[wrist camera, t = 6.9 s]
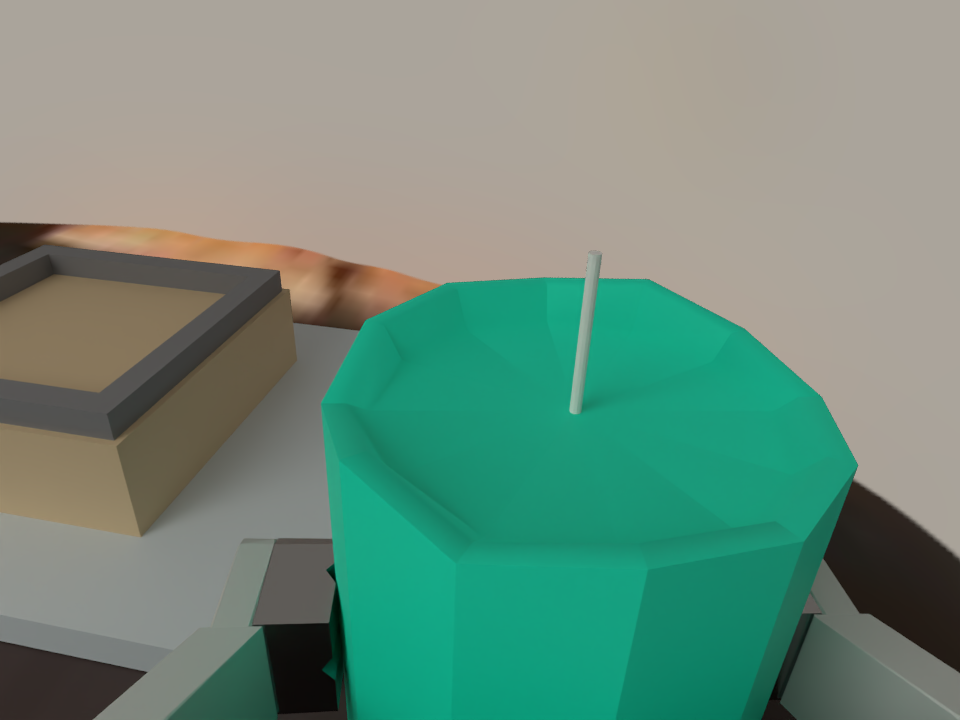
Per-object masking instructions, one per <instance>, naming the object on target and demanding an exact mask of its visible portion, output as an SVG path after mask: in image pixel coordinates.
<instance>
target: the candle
mask: <svg viewBox="0 0 960 720" xmlns="http://www.w3.org/2000/svg"><path fill="white" fill-rule="evenodd" d="M601 257H602V253H601V252H600V251H589V253H588V262H587V270H586V278H527V279H509V280H491V281H474V282H455V283H446V284H444V285H442V286H439V287H437V288H435V289H433V290H431V291H428V292H426V293H424V294H422V295H420V296H417V297H415V298H413V299H411V300H409V301H407V302H404V303H402V304H400V305H398V306H396V307H393V308H391V309H389V310H387V311H385V312H382V313H380V314H378V315H376V316H374V317H372V318H369V319H367V320H365V322H364V324H363V326H362V328H361V330H360V331H359V333H358V335H357V337H356V339H355V341H354V343H353V344H352V346H351V348H350V350H349V352H348V354H347V356H346V357H345V359H344V361H343V363H342V365H341V367H340V369H339V370H338V372H337V374H336V376H335V378H334V380H333V382H332V383H331V385H330V387H329V389H328V391H327V393H326V395H325V397H324V398H323V400H322V402H321V412H322V424H323V435H324V447H325V459H326V471H327V482H328V494H329V506H330V518H331V529H332V541H333V553H334V564H335V576H336V588H337V600H338V609H339V623H340V635H341V641H342V654H343V666H344V682H345V693H346V705H347V717H348V720H761V719H762V716H763V714H764V711H765V709H766V706H767V703H768V701H769V698H770V695H771V693H772V690H773V688H774V685H775V682H776V680H777V677H778V675H779V672H780V669H781V667H782V664H783V661H784V659H785V656H786V654H787V651H788V648H789V646H790V643H791V640H792V638H793V635H794V633H795V630H796V627H797V625H798V622H799V619H800V617H801V614H802V612H803V609H804V606H805V604H806V601H807V598H808V596H809V593H810V591H811V588H812V585H813V583H814V580H815V577H816V575H817V572H818V570H819V567H820V564H821V562H822V559H823V556H824V554H825V551H826V549H827V546H828V543H829V541H830V538H831V536H832V533H833V530H834V528H835V525H836V522H837V520H838V517H839V515H840V512H841V509H842V507H843V504H844V501H845V499H846V496H847V494H848V491H849V488H850V486H851V483H852V480H853V478H854V475H855V472H856V470H857V467H858V464H857V462H856V460H855V458H854V456H853V455H852V453H851V451H850V449H849V447H848V445H847V443H846V442H845V440H844V438H843V436H842V434H841V432H840V430H839V428H838V427H837V425H836V423H835V421H834V419H833V417H832V415H831V413H830V412H829V410H828V408H827V406H826V404H825V402H824V400H823V398H822V397H821V396H820V395H819V394H818V393H817V392H815V391H814V390H813V389H812V388H811V387H810V386H809V385H807V384H806V383H805V382H804V381H803V380H802V379H801V378H799V377H798V376H797V375H796V374H795V373H794V372H793V371H792V370H790V369H789V368H788V367H787V366H786V365H785V364H784V363H783V362H781V361H780V360H779V359H778V358H777V357H776V356H775V355H774V354H772V353H771V352H770V351H769V350H768V349H767V348H766V347H765V346H763V345H762V344H761V343H760V342H759V341H758V340H757V339H755V338H754V337H753V336H752V335H751V334H750V333H749V332H748V331H746V330H745V329H744V328H742V327H740V326H738V325H736V324H734V323H732V322H730V321H728V320H726V319H724V318H722V317H721V316H719V315H717V314H715V313H713V312H711V311H709V310H707V309H705V308H703V307H701V306H699V305H697V304H695V303H693V302H692V301H690V300H688V299H686V298H684V297H682V296H680V295H678V294H676V293H674V292H672V291H670V290H668V289H666V288H665V287H662V286H661V285H659V284H657V283H655V282H653V281H651V280H649V279H601V278H599V273H600V265H601Z"/></svg>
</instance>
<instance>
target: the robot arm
mask: <svg viewBox="0 0 960 720" xmlns="http://www.w3.org/2000/svg"><path fill="white" fill-rule="evenodd" d="M343 671H344V666H343V654H342V641H341V635H340V623H339V609H338V600H337V588H336V576H335V564H334V553H333V541H332V539H314V538H278V539H252V538H244V539H243V540H242V542H241V543H240V544H239V546H238V547H237V550H236V553H235V556H234V559H233V562H232V565H231V568H230V571H229V574H228V577H227V580H226V582H225V585H224V588H223V591H222V594H221V597H220V600H219V603H218V606H217V609H216V612H215V615H214V617H213V620H212V623H211V626H210V627H204V628H199V629H197V630H196V631H195V632H194V633H193V634H192V635H191V636H189V637H188V638H187V639H186V640H185V641H184V642H182V643H181V644H180V645H179V646H178V647H177V648H175V649H174V650H173V651H172V652H171V653H170V654H169V655H167V656H166V657H165V658H164V659H163V660H162V661H160V662H159V663H158V664H157V665H156V666H155V667H153V668H152V669H151V670H150V671H149V672H148V673H147V674H145V675H144V676H143V677H142V678H141V679H140V680H138V681H137V682H136V683H135V684H134V685H133V686H131V687H130V688H129V689H128V690H127V691H126V692H125V693H123V694H122V695H121V696H120V697H119V698H118V699H116V700H115V701H114V702H113V703H112V704H111V705H109V706H108V707H107V708H106V709H105V710H104V711H103V712H101V713H100V714H99V715H98V716H97V717H96V718H94V719H93V720H277V718H278V717H277V714H291V713H309V712H326V711H338V708H339V700H340V693H341V686H342V678H343ZM769 700H781V701H780V703H781V704H782V705H783V706H784V707H785V708H786V709H787V710H788V711H789V712H790V713H791V714H792V715H793V716H794V717H795V718H796V719H797V720H960V673H959V672H957V671H956V670H954V669H953V668H951V667H950V666H948V665H946V664H945V663H943V662H942V661H940V660H939V659H937V658H936V657H934V656H933V655H931V654H930V653H928V652H927V651H925V650H924V649H922V648H921V647H919V646H918V645H916V644H914V643H913V642H911V641H910V640H908V639H907V638H905V637H904V636H902V635H901V634H899V633H898V632H896V631H895V630H893V629H892V628H890V627H889V626H887V625H886V624H884V623H883V622H881V621H879V620H878V619H876V618H875V617H873V616H872V615H870V614H859V612H858V610H857V609H856V607H855V606H854V604H853V603H852V601H851V600H850V598H849V597H848V595H847V594H846V592H845V591H844V589H843V588H842V586H841V585H840V583H839V582H838V580H837V579H836V577H835V576H834V574H833V573H832V571H831V570H830V568H829V567H828V565H827V564H826V562H825V561H824V559H822V562H821V564H820V567H819V570H818V572H817V575H816V577H815V580H814V583H813V585H812V588H811V591H810V593H809V596H808V598H807V601H806V604H805V606H804V609H803V612H802V614H801V617H800V619H799V622H798V625H797V627H796V630H795V633H794V635H793V638H792V640H791V643H790V646H789V648H788V651H787V654H786V656H785V659H784V661H783V664H782V667H781V669H780V672H779V675H778V677H777V680H776V682H775V685H774V688H773V690H772V693H771V695H770V698H769Z"/></svg>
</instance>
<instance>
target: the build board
mask: <svg viewBox="0 0 960 720" xmlns="http://www.w3.org/2000/svg"><path fill="white" fill-rule="evenodd" d="M358 333H359V331H356V330H348V329H339V328H331V327H323V326H315V325H307V324H298V323H293V318H292V309H291V300H290V290H289V289H282V287H281V278H280V271H278V270H269V269H260V268H251V267H242V266H233V265H224V264H215V263H206V262H197V261H187V260H178V259H169V258H160V257H151V256H142V255H133V254H124V253H115V252H106V251H96V250H87V249H78V248H69V247H60V246H51V245H43V246H41V247H39V248H37V249H35V250H32V251H30V252H28V253H26V254H24V255H21V256H19V257H17V258H15V259H13V260H10V261H8V262H6V263H4V264H2V265H0V641H3V642H8V643H13V644H18V645H22V646H27V647H32V648H37V649H41V650H46V651H51V652H56V653H60V654H65V655H70V656H75V657H79V658H84V659H89V660H94V661H98V662H103V663H108V664H113V665H118V666H122V667H127V668H132V669H137V670H141V671H146V672H149V671H150V670H151V669H152V668H153V667H155V666H156V665H157V664H158V663H159V662H160V661H162V660H163V659H164V658H165V657H166V656H167V655H169V654H170V653H171V652H172V651H173V650H174V649H175V648H177V647H178V646H179V645H180V644H181V643H182V642H184V641H185V640H186V639H187V638H188V637H189V636H191V635H192V634H193V633H194V632H195V631H196V630H197V629H199V628H204V627H210V626H211V623H212V620H213V617H214V615H215V612H216V609H217V606H218V603H219V600H220V597H221V594H222V591H223V588H224V585H225V582H226V580H227V577H228V574H229V571H230V568H231V565H232V562H233V559H234V556H235V553H236V550H237V547H238V546H239V544H240V543H241V542H242V540H243V539H244V538H252V539H278V538H314V539H332V529H331V518H330V506H329V494H328V482H327V471H326V459H325V447H324V435H323V424H322V412H321V402H322V400H323V398H324V397H325V395H326V393H327V391H328V389H329V387H330V385H331V383H332V382H333V380H334V378H335V376H336V374H337V372H338V370H339V369H340V367H341V365H342V363H343V361H344V359H345V357H346V356H347V354H348V352H349V350H350V348H351V346H352V344H353V343H354V341H355V339H356V337H357V335H358Z"/></svg>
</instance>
